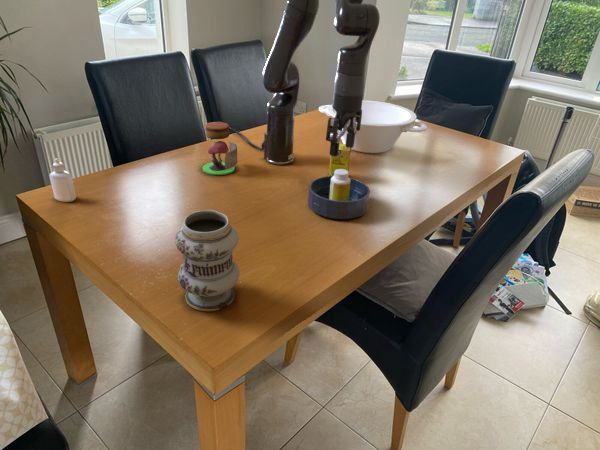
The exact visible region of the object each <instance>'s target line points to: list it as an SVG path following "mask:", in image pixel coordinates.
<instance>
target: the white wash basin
mask: <svg viewBox="0 0 600 450" xmlns="http://www.w3.org/2000/svg"><path fill="white" fill-rule="evenodd" d="M361 110H362V117H361V126H360V130H359V131H357V133H356V135H355V139H354V147H352V148H351V151H354V152H357V153H363V154H382V153H386V152H388V151H390V150H392V148H393V146H395V143H396V142H397V140H398V139H399V138H400V136H401V135H402V134H403V133H405V134H406V133H408V132H409V133H423V132H426V131H427V130H428V126H427V124H426V123H423V122H420V121H417V118H418V117H417V114H416V113H415V112H414V111H413V110H410V109H409V108H407V107H404V106H401V105H398V104H394V103H390V102H384V101H377V100H364V99H362V107H361ZM318 111H319V112H320V113H321V114H325V115H326V117H331V118H335V116H336V111H335V110H334V109H333V107H332V103H331V104H325V105H321V106H319V107H318ZM356 124H357V122H356ZM338 131H340V130H338ZM346 137H347V131H346V132H345V134H344V136H342V137H341V139H340V140H341V141H342V144H346Z"/></svg>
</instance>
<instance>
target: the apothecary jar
mask: <svg viewBox="0 0 600 450" xmlns="http://www.w3.org/2000/svg"><path fill="white" fill-rule="evenodd" d="M230 222H231V221H230V219H229V217H228V216H227V214H225V213H223V212H220V211H217V210H214V209H205V210H198V211H194V212H191V213H189V214H187V216H186V217H184V219H183V221H182V226H181V227H180V228H179V229H178V231H177V232H176V234H175V238H174V243H175V246H176V249H177V250H178V251H179V252H180V253H181V254H182V259H183V263H182V264H180V267H179V268H178V272H177V280H178V283H179V285H180V286H181V288H182V289H183V290H184V291H185V292H186V293H185V297H184V298H185V299H184V300H185V303H187V305H188V306H189V307H191V308H192V309H194V310H197V311H200V312H216V311H219V310H220V309H222V308H224V307H228V306H229V305H230V304H231V303H232V302H233V301H234V298H235V291H234V289H233V287H235V285H237V283H238V281H239V279H240V274H241V273H240V268H239V265H238V263H237V262H236V261H235V260H234V258H233V257H234V256H233V252H234V250H235V249H236V247H237V246H238V243H239V233H238V231H237V229H236V228H235V227H234V226H233V224H231V223H230Z"/></svg>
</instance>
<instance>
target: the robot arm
mask: <svg viewBox="0 0 600 450" xmlns="http://www.w3.org/2000/svg"><path fill="white" fill-rule="evenodd" d="M363 2H364V0H335V1H334V3H335V10H334V11H335V12H334V17H333V18H334V19H333V26H334V29H335V31H336V32H337V33H338V34H339V35H341V36H343V37H358V38H357V40H356V41H355V42H354V43H352V44H349V45H345V46H342V47H340V48H339V50H338V55H337V65H336V73H335V76H334V77H335V78H334V85H333V94H332V103H331V104H332V107H333V109H334V110H335V111H336V116H335V118H334V117H329V118H328V119H327V125H326V126H327V127H326V133H325V141H327V142H330V145H329V155H330V157H331V156H335V157H336V156H338V151H339V144H340V141H341V140H342V139H341V137H342V136H344V134H345V132H346V131H347V137H346V147H349V148H352V147H354V139H355V135H356V133H357V131H359V130H360V126H361V117H362V110H361V107H362V100H364V92H365V91H364V90H365V85H366V84H365V83H366V81H365V79H366V77H365V76H366V69H367V68H366V67H367V60H368V56H369V53H370V49H371V47H372V44H373V42H374V40H375V37H376V34H377V32H378V30H379V25H380V22H381V21H380V20H381V17H380V10H379V9H378V7H377V6H376V5H375V4H373V3H363ZM285 4H286V5H285V7H284V11H283V14H282V17H281V22H280V25H279V28H278V31H277V34H276V37H275V40H274V43H273V45H272V48H271V51H270V54H269V56H268V58H267V61H266V63H265V66H264V68H263V71H262V84H263V87H264V89H265V90H266V91H267V92H268V93H270V94H274V95H273V96H272V98H271V99H270V100H269V101H268V103H267V105H266V132H264V133H263V134H264V135H263V137H264V139H263V141H262V143H261V147H259V146H258V145H255V144H253V142H251V141H249V139H248V138H247V137H246V136H245V135H244V134H243V133H242V132H240V131H238V130H236V129H235V128H233V127H229V131H233V132H234V133H235V134H237V135H239V136H240V137H241V138H242V139H243V140H244V141H245V142H246V143H247V144H248V145H249V146H251V147H253V149H257V150H260V151H263V160H266V162H268V163H269V164H272V165H276V166H277V165H278V166H284V165H288V164H292V163H293V161H294V157H295V153H294V140H295V139H294V136H295V135H294V134H295V116H296V115H295V114H296V113H295V112H296V107H297V105H298V100H299V92H300V71H299V68H298V66H297V65H296V63H294V62H293V61H292V59H293V57H294V54H296V51H297V50H298V48H299V47H300V46H301V44H302V43H303V42H304V40H305V39H306V38H307V37H308V35H309V34H310V32H311V30H312V28H313V26H314V23H315V20H316V17H317V15H318V13H319V8H320V0H287V1H286V3H285ZM356 122H357V124H356ZM338 130H340V131H338Z"/></svg>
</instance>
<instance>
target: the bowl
mask: <svg viewBox="0 0 600 450" xmlns="http://www.w3.org/2000/svg"><path fill="white" fill-rule="evenodd" d="M332 177H333V176H329V175H327V176H320V177H317V178H315V179H313V180H311V181H310V183H309V185H308V193H307V205H308V208H310V210H311V211H312V212H314V213H316V214H317V215H320V216H322V217H325V218H328V219H333V220H351V219H356V218H359V217H361V216H363V215H365V213H367V211H368V209H369V205H370V197H371V189H370V187H369V186H368V185H367V184H366V183H365V182H363V181H361V180H359V179H356V178H353V177H350V176H348V177H349V178H350V180H351V182H350V191H349V200H348V201H335V200H330V199H329V195H330V184H331V178H332Z"/></svg>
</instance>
